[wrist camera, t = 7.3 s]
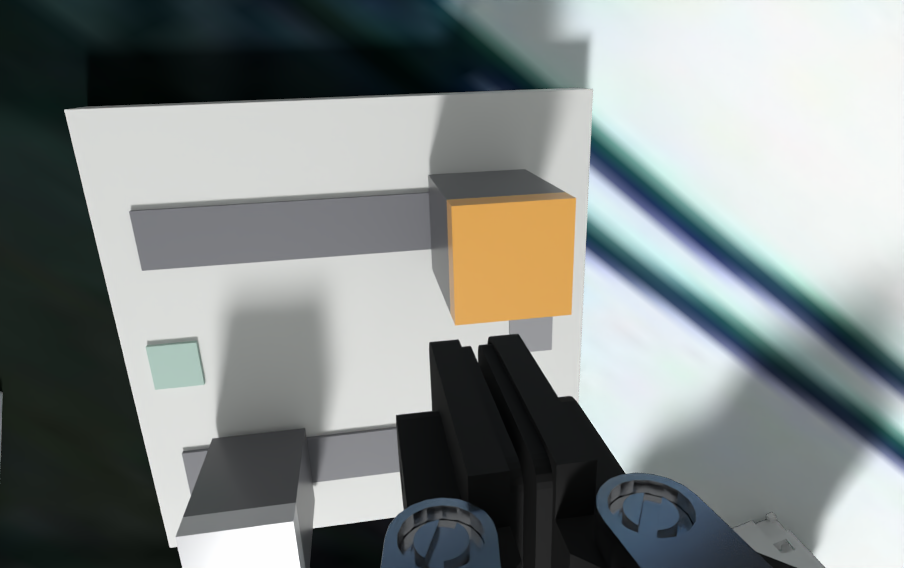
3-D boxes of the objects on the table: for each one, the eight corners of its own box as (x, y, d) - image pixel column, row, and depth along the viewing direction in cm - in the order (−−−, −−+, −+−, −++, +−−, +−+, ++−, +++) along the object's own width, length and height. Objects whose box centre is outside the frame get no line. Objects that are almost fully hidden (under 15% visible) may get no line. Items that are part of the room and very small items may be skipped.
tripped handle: (524, 169, 25) (576, 198, 19) (523, 262, 26) (571, 314, 20) (428, 174, 24) (451, 205, 18) (432, 269, 25) (455, 325, 20)
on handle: (305, 427, 27) (293, 521, 21) (314, 500, 28) (306, 606, 23) (212, 438, 26) (175, 537, 21) (226, 512, 28) (195, 623, 22)
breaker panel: (575, 87, 26) (594, 89, 24) (561, 469, 33) (575, 495, 31) (86, 106, 24) (61, 109, 21) (180, 518, 30) (168, 550, 28)
